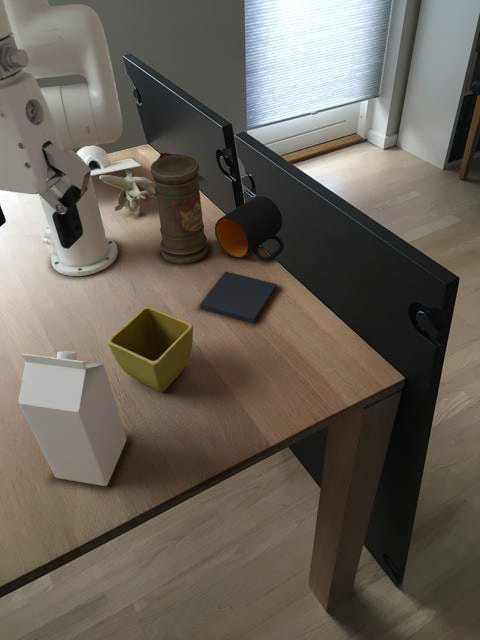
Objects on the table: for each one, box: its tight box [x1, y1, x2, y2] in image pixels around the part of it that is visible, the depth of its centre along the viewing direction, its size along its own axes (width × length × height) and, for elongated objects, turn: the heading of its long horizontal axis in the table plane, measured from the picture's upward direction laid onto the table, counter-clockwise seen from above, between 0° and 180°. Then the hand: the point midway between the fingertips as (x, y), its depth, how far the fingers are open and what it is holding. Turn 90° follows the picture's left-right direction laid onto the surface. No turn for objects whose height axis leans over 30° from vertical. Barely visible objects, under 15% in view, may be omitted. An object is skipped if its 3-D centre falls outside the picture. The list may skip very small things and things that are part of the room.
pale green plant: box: [98, 168, 156, 217], centre depth 117 cm, size 9×16×15 cm
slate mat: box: [199, 271, 278, 324], centre depth 93 cm, size 10×10×1 cm
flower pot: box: [106, 305, 194, 393], centre depth 78 cm, size 9×9×9 cm
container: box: [150, 154, 209, 265], centre depth 99 cm, size 9×9×18 cm
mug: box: [214, 195, 285, 262], centre depth 102 cm, size 8×12×10 cm
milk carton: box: [18, 350, 127, 487], centre depth 64 cm, size 7×7×19 cm
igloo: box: [75, 145, 142, 177], centre depth 124 cm, size 20×20×5 cm
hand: (33, 235), depth 57 cm, fingers open, 9 cm apart
